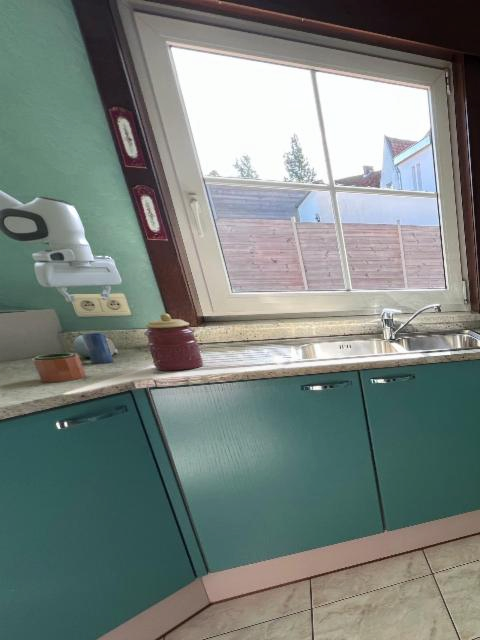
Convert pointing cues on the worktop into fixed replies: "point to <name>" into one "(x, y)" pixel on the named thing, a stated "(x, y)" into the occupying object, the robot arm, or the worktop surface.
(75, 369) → the orange faceted bowl
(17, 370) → the worktop surface
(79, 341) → the ceramic mug
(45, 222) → the robot arm
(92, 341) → the dark blue cylinder
